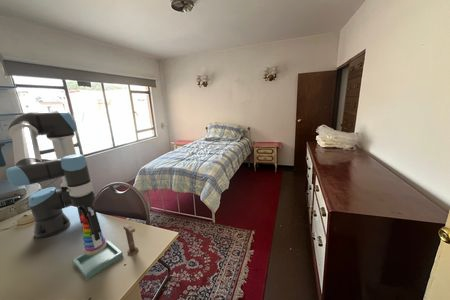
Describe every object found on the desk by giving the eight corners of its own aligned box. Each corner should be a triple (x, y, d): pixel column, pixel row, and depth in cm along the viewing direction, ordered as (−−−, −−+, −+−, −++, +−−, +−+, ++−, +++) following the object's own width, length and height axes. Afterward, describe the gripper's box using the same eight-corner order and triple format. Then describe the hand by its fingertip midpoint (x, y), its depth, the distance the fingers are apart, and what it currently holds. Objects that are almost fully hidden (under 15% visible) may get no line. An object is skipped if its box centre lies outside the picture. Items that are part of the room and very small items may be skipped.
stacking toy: (80, 255, 78) (68, 215, 74) (96, 241, 86) (87, 204, 81) (95, 257, 77) (85, 216, 72) (111, 243, 84) (102, 205, 80)
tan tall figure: (125, 252, 86) (120, 227, 83) (134, 246, 90) (130, 222, 87) (132, 258, 83) (127, 232, 80) (142, 252, 86) (137, 226, 83)
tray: (74, 264, 81) (73, 259, 81) (108, 244, 92) (107, 240, 92) (87, 280, 73) (85, 275, 73) (123, 256, 84) (122, 251, 84)
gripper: (62, 191, 78) (75, 238, 83) (80, 204, 66) (94, 258, 72) (83, 184, 84) (94, 229, 89) (103, 195, 72) (114, 245, 78)
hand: (94, 241), depth 80 cm, fingers closed on stacking toy, 7 cm apart
